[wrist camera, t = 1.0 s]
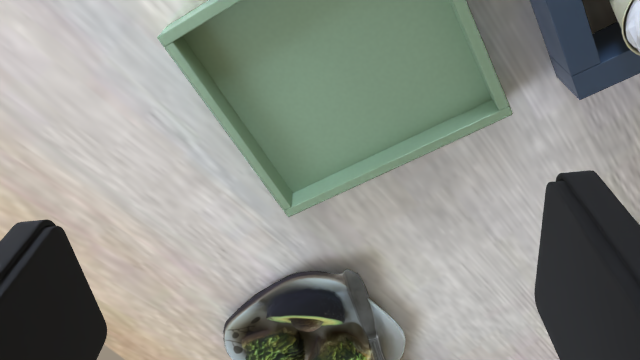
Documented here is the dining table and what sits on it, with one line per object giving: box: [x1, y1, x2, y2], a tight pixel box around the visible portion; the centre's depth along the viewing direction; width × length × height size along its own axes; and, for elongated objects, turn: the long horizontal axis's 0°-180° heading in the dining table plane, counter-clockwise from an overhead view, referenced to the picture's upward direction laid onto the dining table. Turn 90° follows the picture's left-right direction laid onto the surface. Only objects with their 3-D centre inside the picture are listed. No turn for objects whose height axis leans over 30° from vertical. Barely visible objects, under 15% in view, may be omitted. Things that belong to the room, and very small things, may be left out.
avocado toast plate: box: [224, 269, 405, 360], centre depth 55 cm, size 19×18×5 cm
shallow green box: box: [157, 0, 512, 217], centre depth 40 cm, size 18×20×3 cm
